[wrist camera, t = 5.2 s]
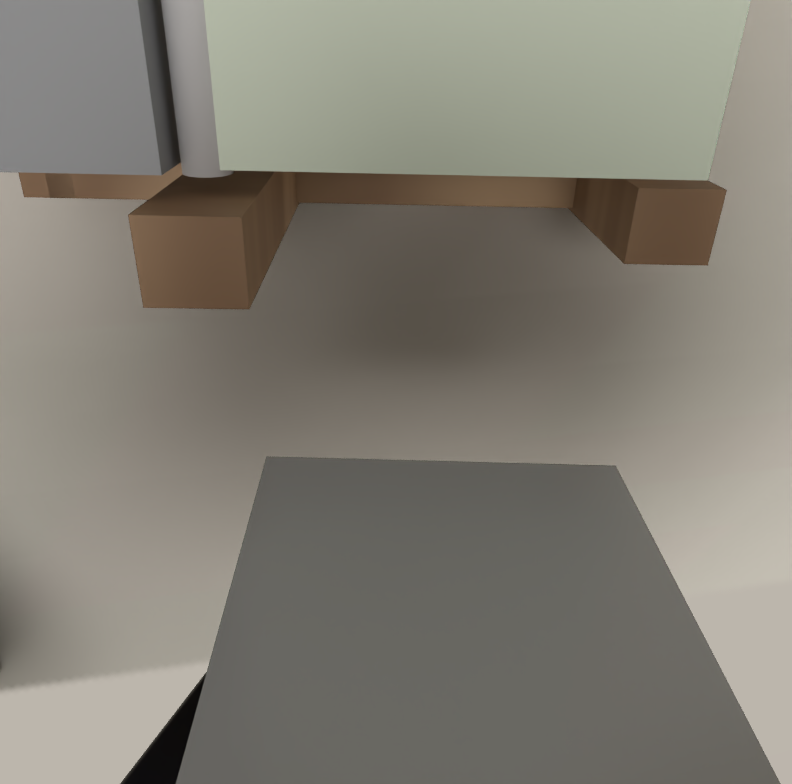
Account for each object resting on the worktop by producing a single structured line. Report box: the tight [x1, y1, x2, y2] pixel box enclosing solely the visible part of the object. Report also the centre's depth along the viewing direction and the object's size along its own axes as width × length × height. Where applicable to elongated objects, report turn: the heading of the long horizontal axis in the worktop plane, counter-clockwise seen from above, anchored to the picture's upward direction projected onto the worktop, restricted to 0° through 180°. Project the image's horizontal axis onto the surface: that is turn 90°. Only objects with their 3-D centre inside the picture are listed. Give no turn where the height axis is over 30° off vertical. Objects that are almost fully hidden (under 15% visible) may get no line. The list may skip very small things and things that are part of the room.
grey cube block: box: [176, 457, 780, 784], centre depth 9 cm, size 5×5×5 cm
